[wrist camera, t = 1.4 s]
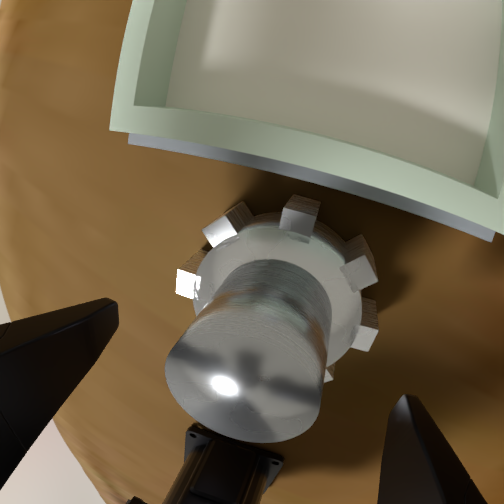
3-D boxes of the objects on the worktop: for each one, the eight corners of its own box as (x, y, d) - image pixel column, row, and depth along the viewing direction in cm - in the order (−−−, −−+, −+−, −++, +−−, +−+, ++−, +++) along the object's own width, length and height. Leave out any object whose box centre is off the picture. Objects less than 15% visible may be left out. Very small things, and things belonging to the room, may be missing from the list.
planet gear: (340, 374, 14) (326, 487, 8) (191, 327, 15) (124, 417, 9) (404, 226, 10) (451, 321, 5) (211, 173, 12) (106, 219, 6)
